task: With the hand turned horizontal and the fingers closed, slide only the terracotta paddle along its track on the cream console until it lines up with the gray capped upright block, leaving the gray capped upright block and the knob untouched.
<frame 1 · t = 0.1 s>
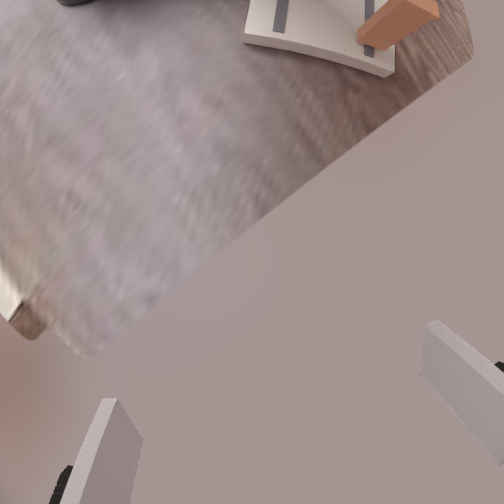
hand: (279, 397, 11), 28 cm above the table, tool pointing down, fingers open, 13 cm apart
console: (321, 18, 31), on the table
terracotta paddle: (393, 22, 23), point 10 cm above the table, slide at 0.0 cm
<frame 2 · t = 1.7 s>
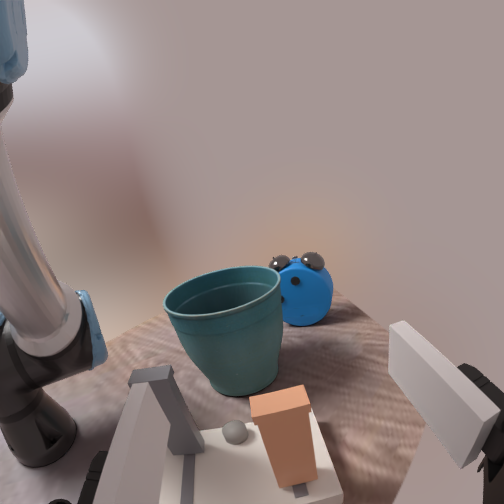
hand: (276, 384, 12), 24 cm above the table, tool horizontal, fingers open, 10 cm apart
console: (245, 477, 28), on the table
terracotta paddle: (289, 445, 23), point 10 cm above the table, slide at 0.0 cm
flower pot: (245, 375, 50), on the table
alarm clock: (305, 321, 63), on the table
gray capped upright block: (170, 416, 29), point 10 cm above the table, slide at 7.0 cm
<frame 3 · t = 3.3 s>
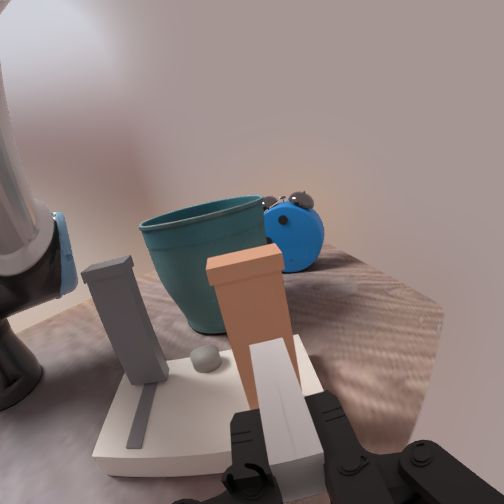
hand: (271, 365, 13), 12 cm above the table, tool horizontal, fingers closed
console: (215, 416, 26), on the table
terracotta paddle: (262, 342, 20), point 10 cm above the table, slide at 0.0 cm
flower pot: (227, 316, 47), on the table
alarm clock: (295, 269, 60), on the table
gray capped upright block: (127, 326, 26), point 10 cm above the table, slide at 7.0 cm
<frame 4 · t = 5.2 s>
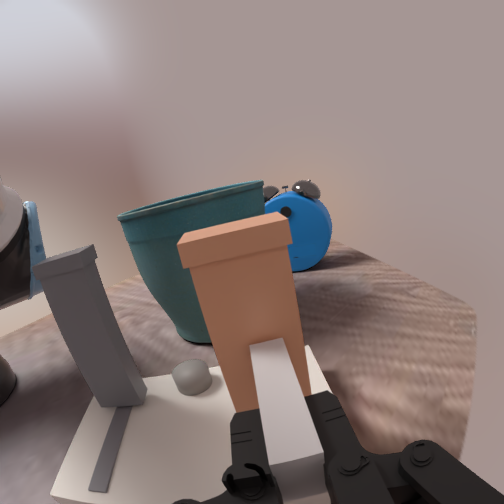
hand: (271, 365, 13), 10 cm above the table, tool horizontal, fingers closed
console: (204, 450, 19), on the table
terracotta paddle: (260, 350, 14), point 10 cm above the table, slide at 1.3 cm, touching gripper
flower pot: (222, 321, 40), on the table
alarm clock: (300, 267, 54), on the table
gray capped upright block: (92, 335, 19), point 10 cm above the table, slide at 7.0 cm
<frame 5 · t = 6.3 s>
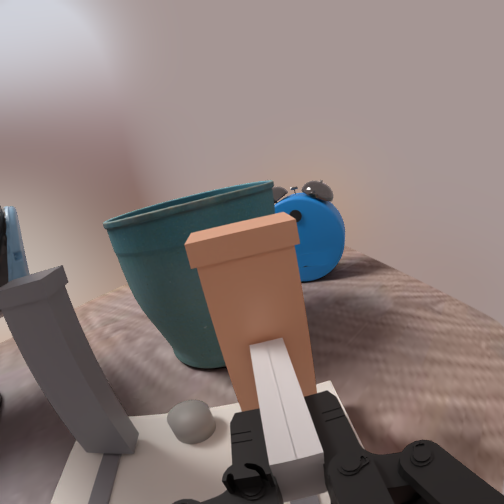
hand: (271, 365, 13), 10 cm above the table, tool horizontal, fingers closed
terracotta paddle: (267, 350, 14), point 10 cm above the table, slide at 6.5 cm
flower pot: (225, 341, 35), on the table
alarm clock: (309, 277, 49), on the table
gray capped upright block: (68, 375, 14), point 10 cm above the table, slide at 7.0 cm
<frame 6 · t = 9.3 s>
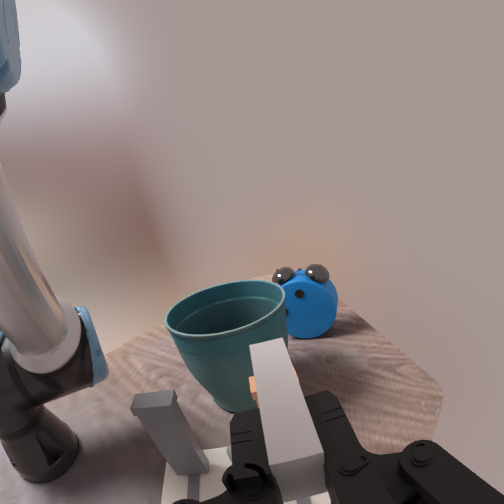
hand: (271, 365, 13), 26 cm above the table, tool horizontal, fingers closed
console: (250, 497, 27), on the table
terracotta paddle: (283, 421, 28), point 10 cm above the table, slide at 6.9 cm
flower pot: (249, 390, 48), on the table
alarm clock: (309, 333, 62), on the table
gray capped upright block: (174, 438, 27), point 10 cm above the table, slide at 7.0 cm
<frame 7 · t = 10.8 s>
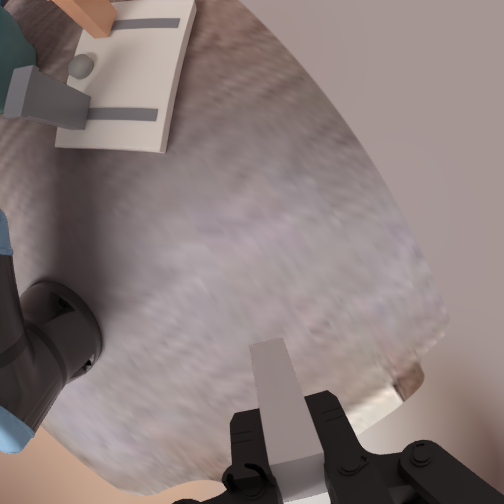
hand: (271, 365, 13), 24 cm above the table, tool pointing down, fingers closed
console: (126, 73, 30), on the table
terracotta paddle: (86, 2, 19), point 10 cm above the table, slide at 6.9 cm
flower pot: (10, 77, 28), on the table
gray capped upright block: (53, 103, 22), point 10 cm above the table, slide at 7.0 cm
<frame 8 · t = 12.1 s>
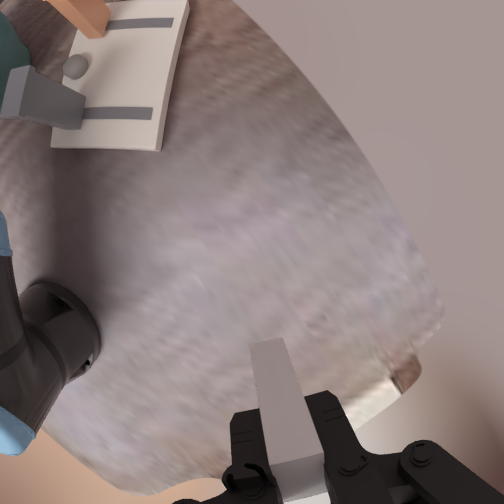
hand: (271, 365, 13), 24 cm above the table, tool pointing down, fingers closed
console: (121, 73, 30), on the table
terracotta paddle: (80, 3, 19), point 10 cm above the table, slide at 6.9 cm
flower pot: (4, 79, 27), on the table
gray capped upright block: (49, 103, 21), point 10 cm above the table, slide at 7.0 cm
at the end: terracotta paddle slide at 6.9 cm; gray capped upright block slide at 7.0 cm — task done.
